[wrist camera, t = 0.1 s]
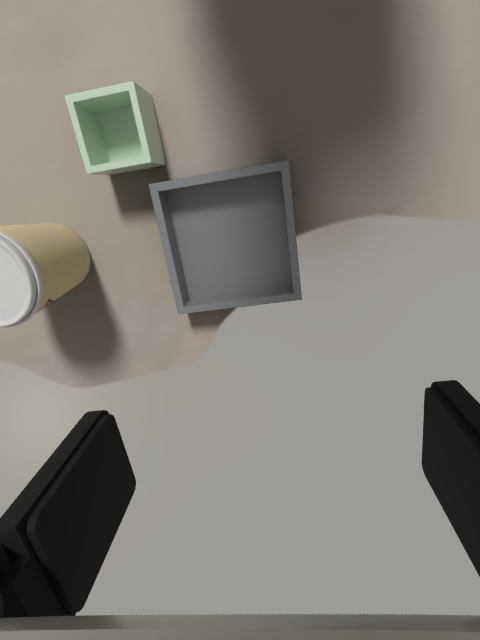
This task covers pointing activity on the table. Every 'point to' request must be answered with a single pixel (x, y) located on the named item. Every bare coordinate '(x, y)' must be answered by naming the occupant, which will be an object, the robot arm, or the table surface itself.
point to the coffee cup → (38, 268)
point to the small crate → (116, 129)
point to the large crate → (229, 237)
